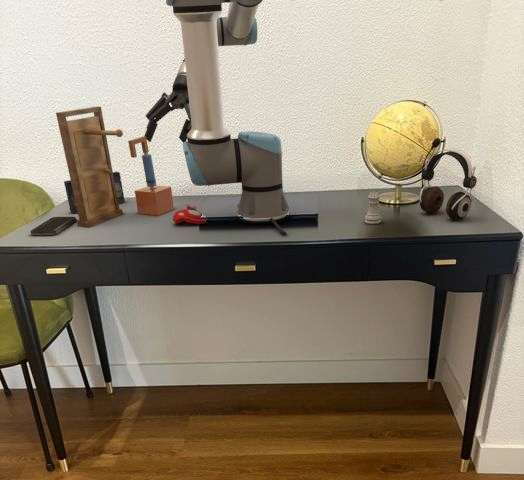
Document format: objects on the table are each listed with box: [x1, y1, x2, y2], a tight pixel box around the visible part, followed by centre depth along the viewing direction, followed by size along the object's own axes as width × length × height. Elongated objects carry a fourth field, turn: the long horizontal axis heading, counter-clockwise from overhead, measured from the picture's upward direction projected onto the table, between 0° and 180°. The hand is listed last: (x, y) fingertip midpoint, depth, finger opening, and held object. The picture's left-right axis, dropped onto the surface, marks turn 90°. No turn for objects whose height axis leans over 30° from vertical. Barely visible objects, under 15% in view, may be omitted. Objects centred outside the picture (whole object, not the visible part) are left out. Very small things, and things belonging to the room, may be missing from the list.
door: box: [55, 106, 124, 228], centre depth 153 cm, size 15×16×31 cm
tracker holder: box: [172, 203, 208, 225], centre depth 156 cm, size 12×4×10 cm
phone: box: [30, 216, 77, 236], centre depth 157 cm, size 8×1×15 cm
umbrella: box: [127, 135, 157, 190], centre depth 161 cm, size 8×3×22 cm, turn 151°
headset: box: [419, 137, 478, 221], centre depth 144 cm, size 17×8×20 cm, turn 34°
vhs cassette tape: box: [63, 171, 126, 214], centre depth 174 cm, size 18×3×10 cm, turn 128°
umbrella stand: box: [134, 184, 175, 216], centre depth 167 cm, size 8×8×7 cm
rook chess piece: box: [364, 191, 382, 226], centre depth 145 cm, size 4×4×8 cm
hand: (164, 139), depth 165 cm, fingers open, 13 cm apart
